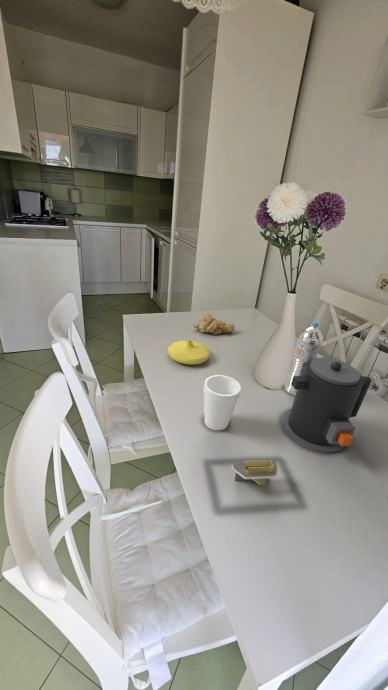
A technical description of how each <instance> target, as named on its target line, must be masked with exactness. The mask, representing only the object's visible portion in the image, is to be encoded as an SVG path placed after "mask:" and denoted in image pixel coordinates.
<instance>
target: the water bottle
mask: <svg viewBox="0 0 388 690" xmlns="http://www.w3.org/2000/svg"><path fill="white" fill-rule="evenodd" d="M319 325H320V324H319V322H317V321H311V326H308V327H306V328H304V329H302V330H301V331H300V333H299V334H298V340H297V344H296V347H295V350H294V353H293V356H292V359H291V363H290V367H289V370H288V374H287V377H286V380H285V383H286V384H285V383H284V390H285V392H287V393H288V394H289V395H292V396H294V397H295V396H296V392H297V389H295V388H294V387H293V386H292V384H291V382H292V379H293V376H302V373H303V370H304V367H305V364H306V362H307V361H309V360H311V359H315V358H318V355H319V351H320V348H321V346H322V344H323V341H324V336H323V334H322V332H321V330H320V328H318V327H319Z"/></svg>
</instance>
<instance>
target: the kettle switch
mask: <svg viewBox="0 0 388 690" xmlns="http://www.w3.org/2000/svg"><path fill="white" fill-rule="evenodd" d="M336 440H337V441H338V442H339V444H340V445H341V446H344V447H350V446H352V443H353V440H354V437H353V435H352V436H351V434H350V433H349V432H348V431H343V432H339V433H338V435H337V438H336Z"/></svg>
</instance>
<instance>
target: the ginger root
mask: <svg viewBox="0 0 388 690" xmlns="http://www.w3.org/2000/svg"><path fill="white" fill-rule="evenodd" d="M192 326H193V328H194V329H198V331H199V332H200V333H210V334H211V335H215V336H216V335H219V334H228V333H232V332H234V330H235V324H234V323H232V322H231V323H226V321H223V320H222V319H221V320H219V319H218V320H217V319H216V318H215V317H213V316H212V315H211V314H210V313H207V312H206V313H205V314H204V315H203V317H202V318H199V319H198V322H197V324H194V325H192Z"/></svg>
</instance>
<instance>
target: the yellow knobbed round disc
mask: <svg viewBox="0 0 388 690" xmlns="http://www.w3.org/2000/svg"><path fill="white" fill-rule="evenodd" d="M167 353H168V357H169V358H171V359H172V360H173V361H174V362H176V363H180V364H184V365H200V364H202V363H205V362H206V361H208V359H209V358H210V356H211V352H210V349H209V348H208V346H206V345H204V344H203V343H201V342H197V341H193V340H191V339H188V340H179V341H175V342H173V343H171V344H170V345H169V347H168V348H167Z"/></svg>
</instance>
